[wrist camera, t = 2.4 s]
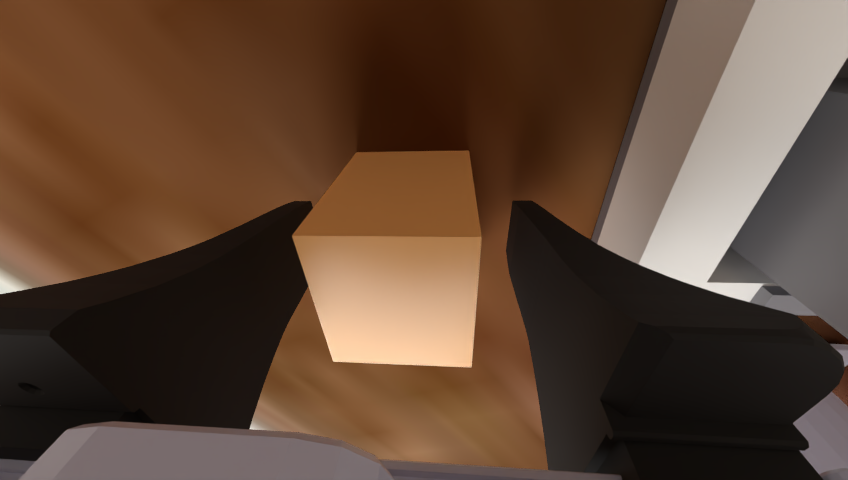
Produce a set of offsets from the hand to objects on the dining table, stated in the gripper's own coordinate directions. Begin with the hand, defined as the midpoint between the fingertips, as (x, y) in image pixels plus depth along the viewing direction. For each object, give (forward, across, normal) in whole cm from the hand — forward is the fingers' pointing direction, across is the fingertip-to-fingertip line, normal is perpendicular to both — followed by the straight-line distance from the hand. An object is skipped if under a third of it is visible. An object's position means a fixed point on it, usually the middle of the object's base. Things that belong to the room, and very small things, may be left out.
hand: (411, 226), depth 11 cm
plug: (+2, 0, 0) cm, 2 cm away
